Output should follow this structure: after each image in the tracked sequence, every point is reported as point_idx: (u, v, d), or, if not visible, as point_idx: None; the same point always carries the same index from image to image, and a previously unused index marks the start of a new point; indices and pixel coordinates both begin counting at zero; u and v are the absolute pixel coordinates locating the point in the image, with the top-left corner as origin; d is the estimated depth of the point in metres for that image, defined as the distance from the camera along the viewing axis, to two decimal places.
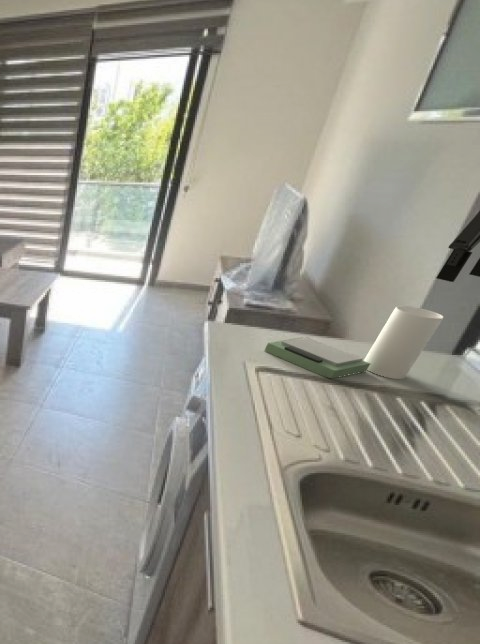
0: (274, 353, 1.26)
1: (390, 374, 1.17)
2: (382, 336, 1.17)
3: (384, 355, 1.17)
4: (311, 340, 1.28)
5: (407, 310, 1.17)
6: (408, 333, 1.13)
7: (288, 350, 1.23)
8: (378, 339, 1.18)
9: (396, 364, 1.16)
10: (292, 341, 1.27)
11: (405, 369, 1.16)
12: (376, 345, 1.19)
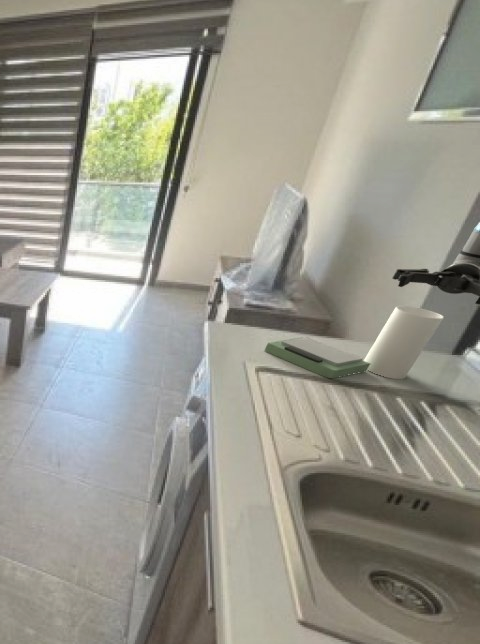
0: (274, 353, 1.26)
1: (390, 374, 1.17)
2: (382, 336, 1.17)
3: (384, 355, 1.17)
4: (311, 340, 1.28)
5: (407, 310, 1.17)
6: (408, 333, 1.13)
7: (288, 350, 1.23)
8: (378, 339, 1.18)
9: (396, 364, 1.16)
10: (292, 341, 1.27)
11: (405, 369, 1.16)
12: (376, 345, 1.19)
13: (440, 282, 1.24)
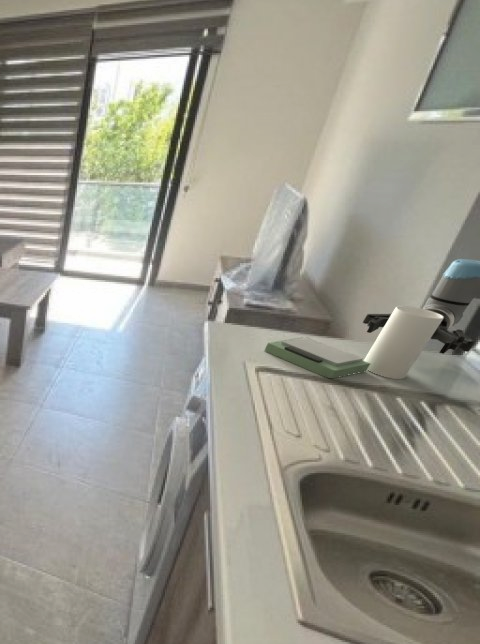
0: (274, 353, 1.26)
1: (390, 374, 1.17)
2: (382, 336, 1.17)
3: (384, 355, 1.17)
4: (311, 340, 1.28)
5: (407, 310, 1.17)
6: (408, 333, 1.13)
7: (288, 350, 1.23)
8: (378, 339, 1.18)
9: (396, 364, 1.16)
10: (292, 341, 1.27)
11: (405, 369, 1.16)
12: (376, 345, 1.19)
13: None
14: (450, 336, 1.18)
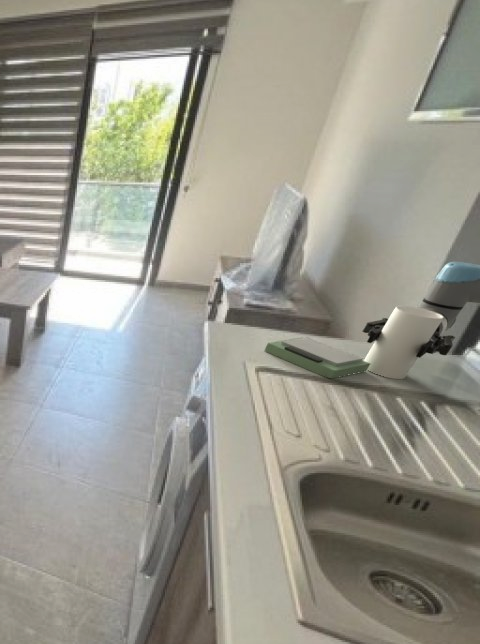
0: (274, 353, 1.26)
1: (390, 374, 1.17)
2: (382, 336, 1.17)
3: (384, 355, 1.17)
4: (311, 340, 1.28)
5: (407, 310, 1.17)
6: (408, 333, 1.13)
7: (288, 350, 1.23)
8: (378, 339, 1.18)
9: (396, 364, 1.16)
10: (292, 341, 1.27)
11: (405, 369, 1.16)
12: (376, 345, 1.19)
13: None
14: (430, 340, 1.15)
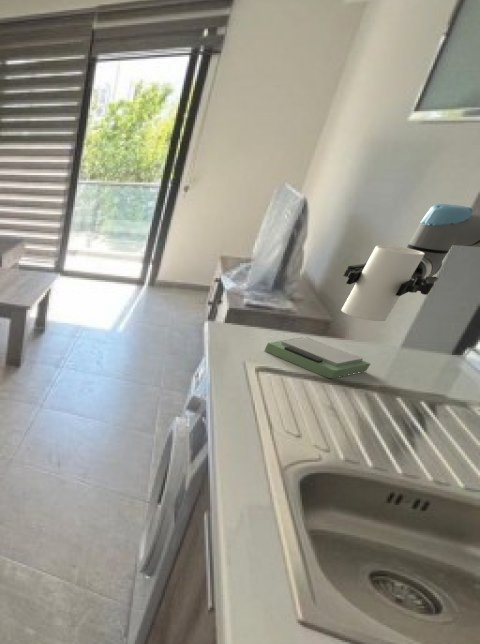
0: (274, 353, 1.26)
1: (370, 316, 1.13)
2: (362, 276, 1.13)
3: (364, 296, 1.13)
4: (311, 340, 1.28)
5: (388, 250, 1.13)
6: (387, 271, 1.09)
7: (288, 350, 1.23)
8: (358, 280, 1.15)
9: (376, 305, 1.12)
10: (292, 341, 1.27)
11: (385, 310, 1.12)
12: (356, 287, 1.15)
13: None
14: (412, 280, 1.11)
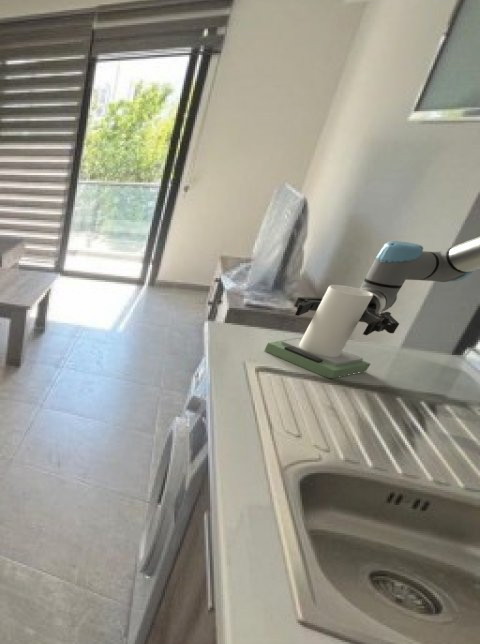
0: (274, 353, 1.26)
1: (324, 352, 1.19)
2: (317, 314, 1.19)
3: (318, 333, 1.19)
4: None
5: (341, 289, 1.19)
6: (339, 310, 1.15)
7: (288, 350, 1.23)
8: (313, 318, 1.20)
9: (329, 342, 1.18)
10: (292, 341, 1.27)
11: (338, 347, 1.18)
12: (311, 324, 1.21)
13: None
14: (376, 318, 1.16)
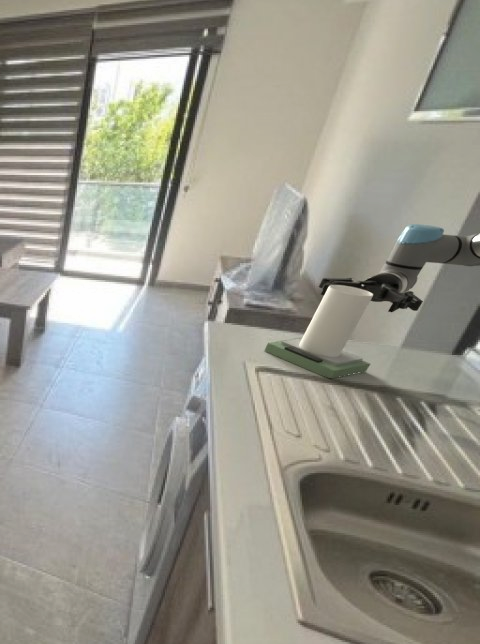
0: (274, 353, 1.26)
1: (324, 352, 1.19)
2: (317, 314, 1.19)
3: (318, 333, 1.19)
4: None
5: (341, 289, 1.19)
6: (339, 310, 1.15)
7: (288, 350, 1.23)
8: (313, 318, 1.21)
9: (329, 342, 1.18)
10: (292, 341, 1.27)
11: (338, 347, 1.18)
12: (311, 324, 1.21)
13: None
14: (400, 296, 1.21)
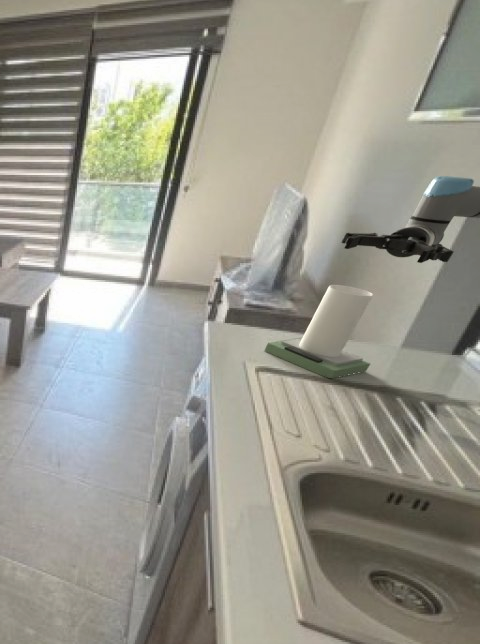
0: (274, 353, 1.26)
1: (324, 352, 1.19)
2: (317, 314, 1.19)
3: (318, 333, 1.19)
4: None
5: (341, 289, 1.19)
6: (339, 310, 1.15)
7: (288, 350, 1.23)
8: (313, 318, 1.21)
9: (329, 342, 1.18)
10: (292, 341, 1.27)
11: (338, 347, 1.18)
12: (311, 324, 1.21)
13: (387, 245, 1.23)
14: (429, 248, 1.15)
